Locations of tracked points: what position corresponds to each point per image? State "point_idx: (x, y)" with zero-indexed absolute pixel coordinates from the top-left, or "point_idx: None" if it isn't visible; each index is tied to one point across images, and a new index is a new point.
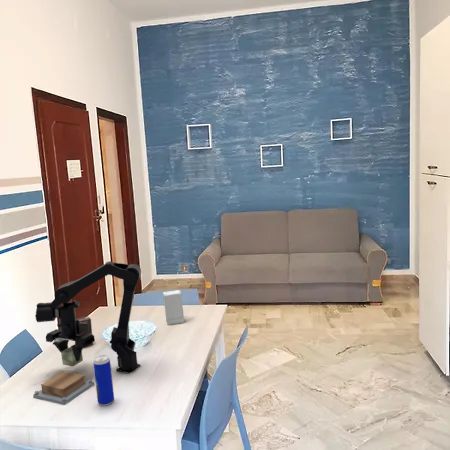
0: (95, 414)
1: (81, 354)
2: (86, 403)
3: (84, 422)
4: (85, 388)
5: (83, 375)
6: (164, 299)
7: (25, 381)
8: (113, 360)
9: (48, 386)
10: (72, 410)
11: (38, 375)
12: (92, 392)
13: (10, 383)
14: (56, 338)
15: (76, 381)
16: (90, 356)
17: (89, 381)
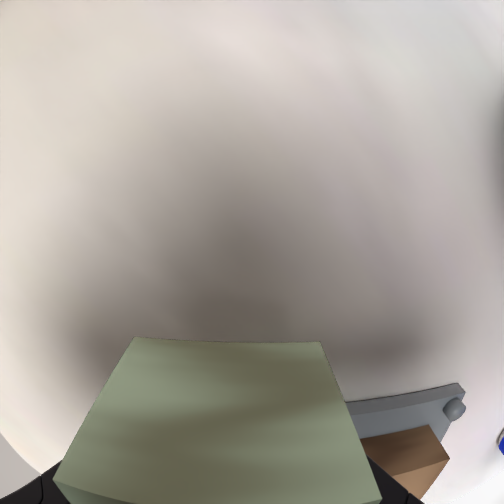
0: (494, 465)
1: (342, 416)
2: (462, 464)
3: (474, 489)
4: (439, 439)
5: (442, 461)
6: None
7: (46, 442)
8: (395, 23)
9: None
10: (430, 496)
11: (30, 391)
12: (466, 423)
13: (21, 451)
14: None
15: (421, 494)
16: (121, 11)
17: (453, 419)
